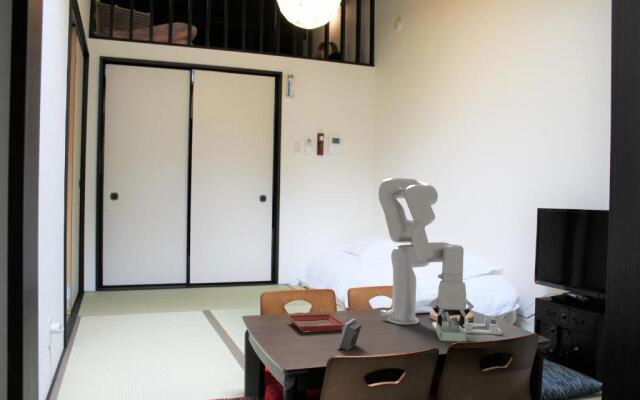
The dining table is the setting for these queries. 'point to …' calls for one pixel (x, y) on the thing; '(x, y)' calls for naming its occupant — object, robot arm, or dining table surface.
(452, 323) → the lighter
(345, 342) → the electrical switch
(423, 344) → the dining table surface
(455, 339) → the tray
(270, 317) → the dining table surface
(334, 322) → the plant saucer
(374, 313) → the dining table surface
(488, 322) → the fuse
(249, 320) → the dining table surface
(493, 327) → the fuse panel
